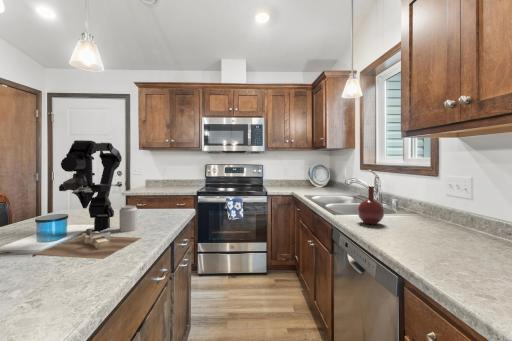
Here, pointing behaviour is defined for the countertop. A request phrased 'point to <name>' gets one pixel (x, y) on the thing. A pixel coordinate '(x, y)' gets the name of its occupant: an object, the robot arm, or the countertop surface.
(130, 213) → the can
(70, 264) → the countertop surface
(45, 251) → the base board
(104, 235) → the keeper
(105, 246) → the link
